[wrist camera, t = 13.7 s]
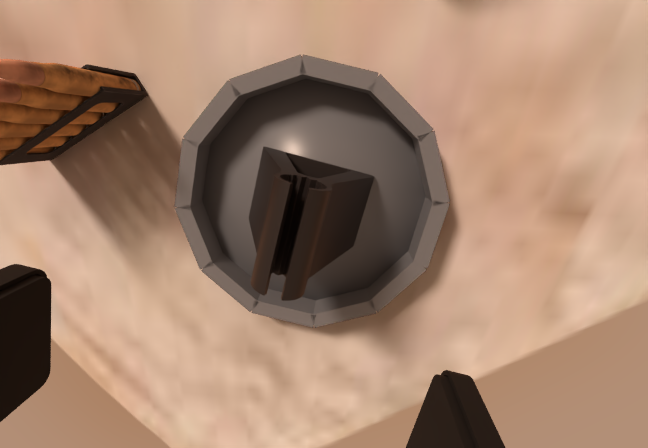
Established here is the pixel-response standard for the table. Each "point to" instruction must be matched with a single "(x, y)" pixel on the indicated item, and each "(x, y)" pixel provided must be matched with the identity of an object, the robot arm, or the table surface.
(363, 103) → the round tray
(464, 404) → the robot arm
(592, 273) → the table surface
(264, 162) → the phone stand
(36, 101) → the ammunition clip
